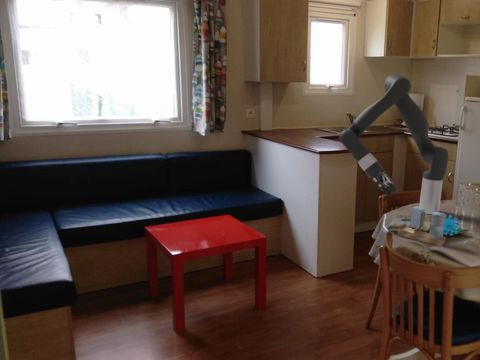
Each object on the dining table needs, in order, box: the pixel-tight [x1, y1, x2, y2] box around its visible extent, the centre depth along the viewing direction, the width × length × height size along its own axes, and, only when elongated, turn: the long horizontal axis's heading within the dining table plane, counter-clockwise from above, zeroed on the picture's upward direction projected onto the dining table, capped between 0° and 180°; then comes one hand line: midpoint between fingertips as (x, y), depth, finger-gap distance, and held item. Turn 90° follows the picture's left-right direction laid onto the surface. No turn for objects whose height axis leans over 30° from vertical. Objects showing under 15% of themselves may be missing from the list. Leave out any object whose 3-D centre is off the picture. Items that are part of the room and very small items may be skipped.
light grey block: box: [409, 205, 426, 229], centre depth 195 cm, size 4×4×10 cm
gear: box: [443, 214, 464, 237], centre depth 192 cm, size 11×6×10 cm
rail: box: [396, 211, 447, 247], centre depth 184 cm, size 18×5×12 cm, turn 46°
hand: (393, 193), depth 199 cm, fingers open, 8 cm apart
